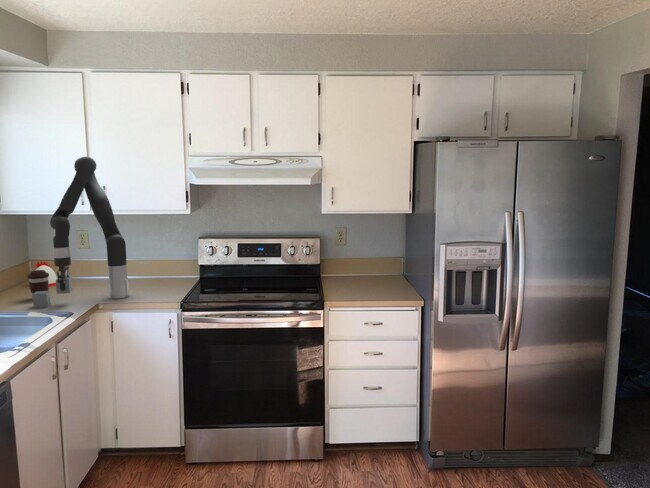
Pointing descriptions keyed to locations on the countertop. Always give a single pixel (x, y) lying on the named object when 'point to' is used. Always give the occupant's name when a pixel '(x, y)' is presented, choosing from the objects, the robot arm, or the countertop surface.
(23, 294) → the countertop surface
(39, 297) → the plain grey cube
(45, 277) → the coffee cup
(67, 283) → the matte grey cube
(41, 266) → the kitchen timer
